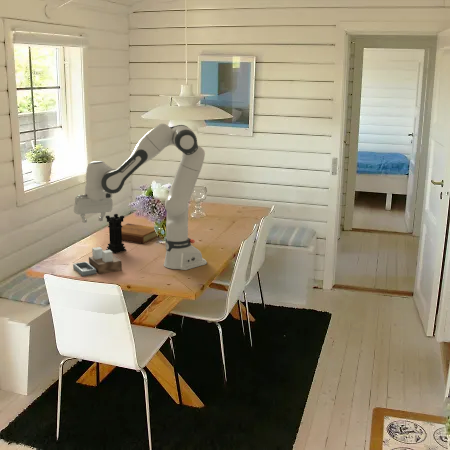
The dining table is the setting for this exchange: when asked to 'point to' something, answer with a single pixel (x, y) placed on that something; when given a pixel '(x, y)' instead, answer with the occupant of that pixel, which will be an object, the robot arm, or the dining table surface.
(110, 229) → the chess piece
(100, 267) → the square brown board
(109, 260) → the off-white small block
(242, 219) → the dining table surface
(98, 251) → the white block
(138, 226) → the diary
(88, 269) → the tray
